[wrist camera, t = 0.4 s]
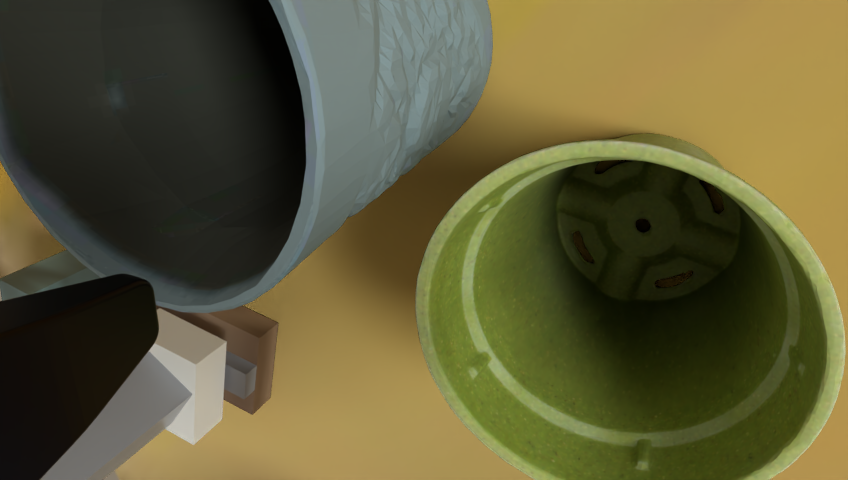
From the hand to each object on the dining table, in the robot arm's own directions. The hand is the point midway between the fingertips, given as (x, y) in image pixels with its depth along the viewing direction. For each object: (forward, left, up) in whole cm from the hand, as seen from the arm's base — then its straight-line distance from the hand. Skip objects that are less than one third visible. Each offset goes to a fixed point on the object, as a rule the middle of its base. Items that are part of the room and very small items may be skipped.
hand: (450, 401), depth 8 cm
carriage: (-17, +15, -13) cm, 26 cm away
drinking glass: (0, +9, -16) cm, 18 cm away
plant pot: (-3, -2, -16) cm, 16 cm away
